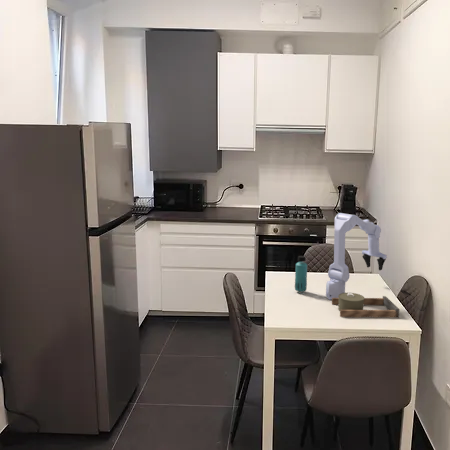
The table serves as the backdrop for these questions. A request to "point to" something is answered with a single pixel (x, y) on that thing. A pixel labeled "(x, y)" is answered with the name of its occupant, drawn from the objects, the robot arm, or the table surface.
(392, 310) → the bay
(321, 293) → the table surface
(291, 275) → the table surface
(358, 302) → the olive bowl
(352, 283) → the table surface
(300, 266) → the beverage bottle
